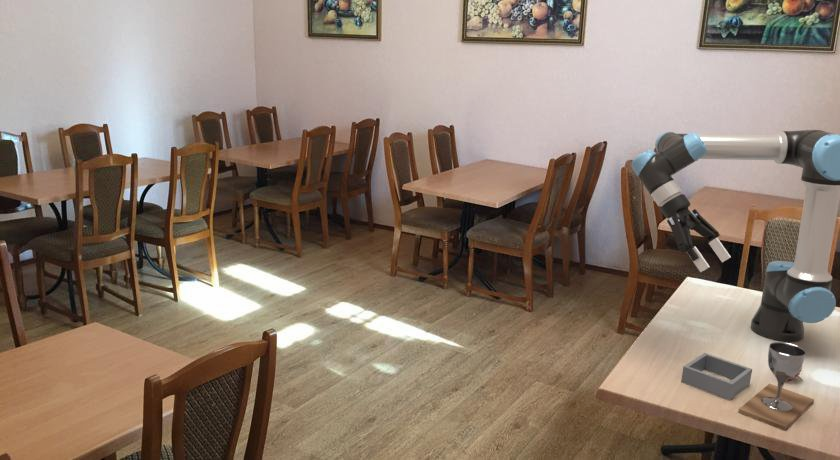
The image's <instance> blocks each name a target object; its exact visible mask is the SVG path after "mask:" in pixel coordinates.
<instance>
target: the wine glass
mask: <svg viewBox="0 0 840 460" xmlns="http://www.w3.org/2000/svg"><path fill="white" fill-rule="evenodd" d="M768 347H769V348H768V351H767V364H768V368H769V370H770V372H771V373H772V374H773V376H774V378H775V380H776V382H777V386H778V390H777V396H776V397H771V396H768V397H763V398H762V399H761V401H762V403H763V404H764V405H765V406H767V407H769V408H772V409H775V410H779V411H789V410H792V408H793V406H792V405H791V404H790V403H789V402H788V401H786V400H784V399H781V398H780V394H781V390H782V388H783V387H784V385H785V384H786V382H788V381H787V380H789V379H791V378H792V377H793V378H795V377H794V376H796V375H797V374H798V373H799V371H800V369H801V367H802V368H803V364H804V362H805V358H806V351H805V349H803V348H802V347H801V346H798V345H796V344H793V343H788V342H785V341H774V342H771V343H769V346H768Z"/></svg>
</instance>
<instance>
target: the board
mask: <svg viewBox="0 0 840 460" xmlns="http://www.w3.org/2000/svg"><path fill="white" fill-rule="evenodd" d="M777 390H778V385H774V384H772V383H768V384H767V385H766V386H765V387H763V388H762V389H761V390H760V391H759V392H757V393H756V394H755V395H754V396H752V397H751V398H750V399H749V400H748V401H747V402H745V403H744V404H743V405H742V406H741V407H739V408H738V412H737V413H738V414H741V415H744V416H746V417H749V418H751V419H753V420H754V419H755V420H756V421H759V422H762V423H764V424H767V425H769V426H772V427H774V428H778V429H780V430H782V431H786V430H788V429H789V427H791V426H792V425H793V424H794V423H795V422H796V421H797V419H799V418H800V416H802V415H803V414H804V413H805V412H806V411H807V410H808V409H809V408H810V407H811V406H812V405H813V404H814V402H815V399H814V398H811V397H809V396H806V395H803V394H800V393H797V392H795V391H792V390H790V389H789V390H788V389H786V388H783V387H782V390H781V394H780V398H781V399H784V400H786V401H788V402H789V403H790V404H791V405H792V406H793V408H792V410H789V411H779V410H775V409H772V408H769V407H767V406H765V405H764V404H763V403H762V401H761V399H762V398H763V397H768V396H771V397H776V396H777Z"/></svg>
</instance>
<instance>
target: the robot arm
mask: <svg viewBox="0 0 840 460" xmlns="http://www.w3.org/2000/svg"><path fill="white" fill-rule="evenodd" d="M654 147H655V150H656V152H657V153H656V152H655V151H654V150H653V149H648V150H645V151H644V152H641V153H639V154H638V155H637V156H636V157H635V158H634V159H633V160H632V161H631V168H632V170H633V171H634V173H635V175H636V176H637V178H638V180H639V181H640V182H641V184H642V185H643V187H645V190H647V192H648V193H649V195H650V196H651V197H652V200H653V202H655V204H656V205H657V206H658V207H660V211H661V212H662V214H663V215H664V217H665V218H666V222H667V224H668V226H669V227H670V229H671V232H672V234H673V239H674V240H675V242H676V246H677V248H678V251H680V252H681V253H682V254H684V253H686V254H687V255H688V256H689V258H690V259H691V261H692V262H693V264H694V265H695V267H696V269H697V270H698V271H699V272H700V273H702V272H704V271H706V270H707V269H709V268H711V267H710V265H709V263H708V262H707V260H706V259H705V257H704V256H703V255H702V253H701V252H700V251H699V249H698V248H697V247H696V246H695V245H693V244H694V243H693V239H692V235H691V231H694V232H696V233H697V234H699V235H700V236H701V237H703V238H704V239H706V240H707V241H708V245H709V246H710V248H711V249H712V250H713V252H714V253H715V254H716V256H717V257H718V258H719V260H720V261H721V263H724V262H726V261H727V260H729V259H730V258H732V257H731V255H730V254H729V252H728V250H727V249H726V248H725V246H724V245H723V243H722V242H721V241H720V240H719V238H718V237H720V236H721V235H720V233H719V231H718V230H717V229H716V228H715V227H714V226H713V225H711V224H710V222H708V221H707V220H706V219H705V218H704V217H703V216H702V215H701V214H700V213H699V211H698V210H697V209H696V208H694V209H692V210H690V209H689V207H690V206H691V202H690V200H689V199H688V197H687V196H686V195H685V194H683V190H682V188H680V186H679V185H678V183H677V182H676V181H675V180H674V178H673V177H672V176H673V175H676V174H677V173H678V172H680V171H682V170H684V169H685V168H687V167H688V166H690V165H692V164H693V163H695V162H697V161H699V160H733V161H735V160H736V161H737V160H738V161H739V160H740V161H741V160H743V161H744V160H745V161H754V160H755V161H774V163H776V164H778V165H779V164H780V165H790V166H795V167H800V168H802V172H801V177H800V180H801V182H802V183H803V185H804V186H805V191H804V192H805V193H804V199H803V205H802V211H801V218H800V224H799V230H798V231H799V232H798V238H797V243H796V250H795V256H794V261H787V260H786V261H785V260H773V261H770V262H768V265H767V266H766V267H767V268H766V270H765V276H764V277H765V278H764V281H763V288H762V294H761V295H762V296H761V301H760V305H759V307H758V309H756V310H757V311H756V312H755V313H754V315H753V317H752V319H751V322H750V329H751V331H753V332H754V333H756V334H757V335H760V336H762V337H764V338H767V339H771V340H775V341H779V342H797V341H801V340H803V339H804V334H805V326H804V323H807V324H814V323H820V322H822V321H824V320H826V319H827V318H829V317H830V316H831V315H832V314H833V312H834V310H835V308H836V305H837V301H836V300H837V299H836V297H835V295H834V293H833V292H832V291H831V289H832V282H833V276H832V275H831V274H830V272H829V271H828V270H829V262H830V255H831V251H832V250H831V249H832V245H833V239H834V233H835V228H836V227H835V226H836V221H837V216H838V211H839V210H838V209H839V204H840V134H838V133H833V132H828V131H825V130H820V129H805V130H804V129H803V130H786V131H785V130H780V131H778V132H776V133H775V134H767V133H766V134H761V133H760V134H758V133H757V134H755V133H753V134H751V133H742V134H740V133H739V134H738V133H735V134H734V133H696V132H694V131H692V132H691V131H690V132H689V133H676V132H673V131H665V132H663V133H661V134H660V135H658V137H656V140H655V144H654ZM690 230H691V231H690Z"/></svg>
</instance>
